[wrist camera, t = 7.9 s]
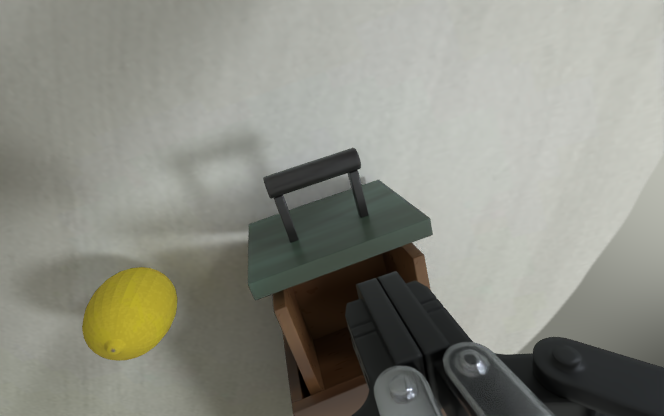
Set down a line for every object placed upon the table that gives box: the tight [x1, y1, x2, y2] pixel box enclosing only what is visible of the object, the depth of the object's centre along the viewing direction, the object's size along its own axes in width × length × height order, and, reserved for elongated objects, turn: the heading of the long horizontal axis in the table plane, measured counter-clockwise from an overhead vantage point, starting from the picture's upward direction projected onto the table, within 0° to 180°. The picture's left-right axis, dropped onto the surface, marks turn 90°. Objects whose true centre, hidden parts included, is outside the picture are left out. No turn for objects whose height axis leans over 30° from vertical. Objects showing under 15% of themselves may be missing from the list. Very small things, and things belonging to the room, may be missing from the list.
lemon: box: [82, 267, 177, 360], centre depth 24 cm, size 6×6×8 cm
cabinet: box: [283, 333, 447, 416], centre depth 30 cm, size 15×13×11 cm
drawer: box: [248, 148, 433, 395], centre depth 25 cm, size 18×11×9 cm, turn 15°
